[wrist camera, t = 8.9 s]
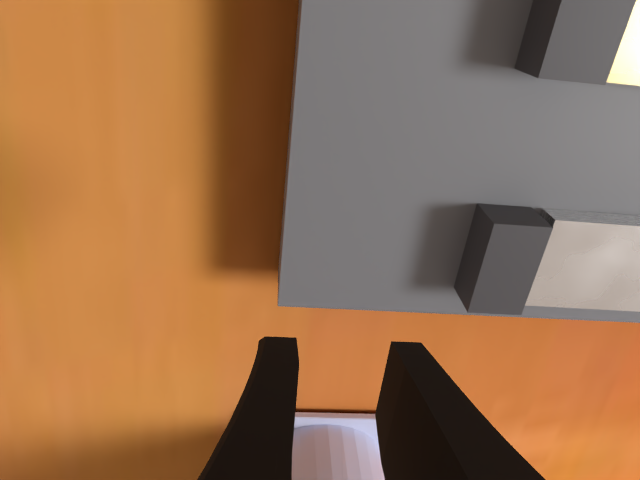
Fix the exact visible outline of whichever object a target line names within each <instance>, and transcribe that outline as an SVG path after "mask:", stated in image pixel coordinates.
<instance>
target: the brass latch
mask: <svg viewBox="0 0 640 480" xmlns="http://www.w3.org/2000/svg"><path fill="white" fill-rule="evenodd" d="M607 82H608V83H618V84H627V85H637V86H640V0H636V2H635V5H634V8H633V11H632V13H631V16H630V19H629V22H628V24H627V27H626V30H625V32H624V35H623V38H622V41H621V43H620V46H619V49H618V52H617V54H616V57H615V60H614V63H613V65H612V68H611V71H610V74H609V76H608V79H607Z"/></svg>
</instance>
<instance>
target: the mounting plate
mask: <svg viewBox="0 0 640 480" xmlns="http://www.w3.org/2000/svg"><path fill="white" fill-rule="evenodd" d="M635 2H636V0H299V8H298V21H297V34H296V47H295V60H294V73H293V86H292V99H291V112H290V125H289V138H288V151H287V164H286V176H285V189H284V202H283V215H282V228H281V241H280V254H279V267H278V306H287V307H309V308H331V309H353V310H374V311H396V312H418V313H440V314H462V315H483V316H505V317H527V318H549V319H571V320H593V321H614V322H636V323H640V312H636V311H618V310H600V309H581V308H563V307H544V306H526V305H525V304H526V301H527V298H528V295H529V293H530V290H531V287H532V284H533V282H534V279H535V276H536V274H537V271H538V268H539V265H540V263H541V260H542V257H543V254H544V252H545V249H546V246H547V243H548V241H549V238H550V235H551V232H552V230H553V227H552V226H551V225H550V224H549V223H548V222H547V221H546V220H545V219H543V218H542V217H541V216H540V212H541V209H542V208H551V209H564V210H578V211H592V212H605V213H618V214H631V215H640V86H637V85H627V84H618V83H608V82H607V79H608V76H609V74H610V71H611V68H612V65H613V63H614V60H615V57H616V54H617V52H618V49H619V46H620V43H621V41H622V38H623V35H624V32H625V30H626V27H627V24H628V22H629V19H630V16H631V13H632V11H633V8H634V5H635Z"/></svg>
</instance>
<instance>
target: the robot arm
mask: <svg viewBox="0 0 640 480" xmlns="http://www.w3.org/2000/svg"><path fill="white" fill-rule="evenodd" d="M298 371H299V357H298V348H297V340H296V338H288V337H264V338H262V339H261V340H260V341H259V344H258V350H257V354H256V358H255V362H254V365H253V368H252V371H251V374H250V376H249V379H248V381H247V384H246V386H245V389H244V391H243V393H242V396H241V398H240V400H239V402H238V404H237V407H236V409H235V411H234V413H233V415H232V418H231V420H230V422H229V424H228V426H227V428H226V429H225V431H224V433H223V435H222V437H221V439H220V441H219V442H218V444H217V446H216V448H215V450H214V452H213V453H212V455H211V457H210V459H209V461H208V463H207V464H206V466H205V468H204V470H203V471H202V473H201V475H200V476H199V478H198V480H545V479H544V478H543V477H542V476H541V475H540V474H539V473H538V472H537V471H536V470H535V469H534V468H533V467H532V466H531V465H530V464H529V463H528V462H527V461H526V460H525V459H524V458H523V457H522V456H521V455H520V454H519V453H518V452H517V451H516V450H515V449H514V448H513V447H512V446H511V445H510V444H509V443H508V442H507V441H506V440H505V438H504V437H503V436H502V435H501V434H500V433H499V432H498V431H497V430H496V429H495V428H494V427H493V426H492V425H491V423H490V422H489V421H488V420H487V419H486V418H485V417H484V416H483V415H482V413H481V412H480V411H479V410H478V409H477V408H476V407H475V406H474V405H473V403H472V402H471V401H470V400H469V399H468V398H467V396H466V395H465V394H464V393H463V392H462V391H461V389H460V388H459V387H458V386H457V385H456V384H455V382H454V381H453V380H452V379H451V378H450V376H449V375H448V374H447V373H446V372H445V371H444V369H443V368H442V367H441V366H440V365H439V363H438V362H437V361H436V360H435V359H434V357H433V356H432V355H431V354H430V353H429V351H428V350H427V349H426V348H425V347H424V346H423V344H422V343H416V342H391V345H390V350H389V354H388V359H387V364H386V368H385V373H384V377H383V382H382V386H381V391H380V395H379V400H378V404H377V409H376V414H358V413H313V412H295V410H296V397H297V384H298Z"/></svg>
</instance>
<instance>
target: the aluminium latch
mask: <svg viewBox="0 0 640 480" xmlns="http://www.w3.org/2000/svg"><path fill="white" fill-rule="evenodd" d="M540 216H541V217H542V218H543V219H545V220H546V221H547V222H548V223H549V224H550V225H551V226H552V227H553V230H552V232H551V235H550V238H549V241H548V243H547V246H546V249H545V252H544V254H543V257H542V260H541V263H540V265H539V268H538V271H537V274H536V276H535V279H534V282H533V284H532V287H531V290H530V293H529V295H528V298H527V301H526V304H525V305H526V306H544V307H563V308H581V309H600V310H618V311H636V312H640V215H631V214H618V213H605V212H592V211H578V210H564V209H551V208H542V209H541V212H540Z"/></svg>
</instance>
